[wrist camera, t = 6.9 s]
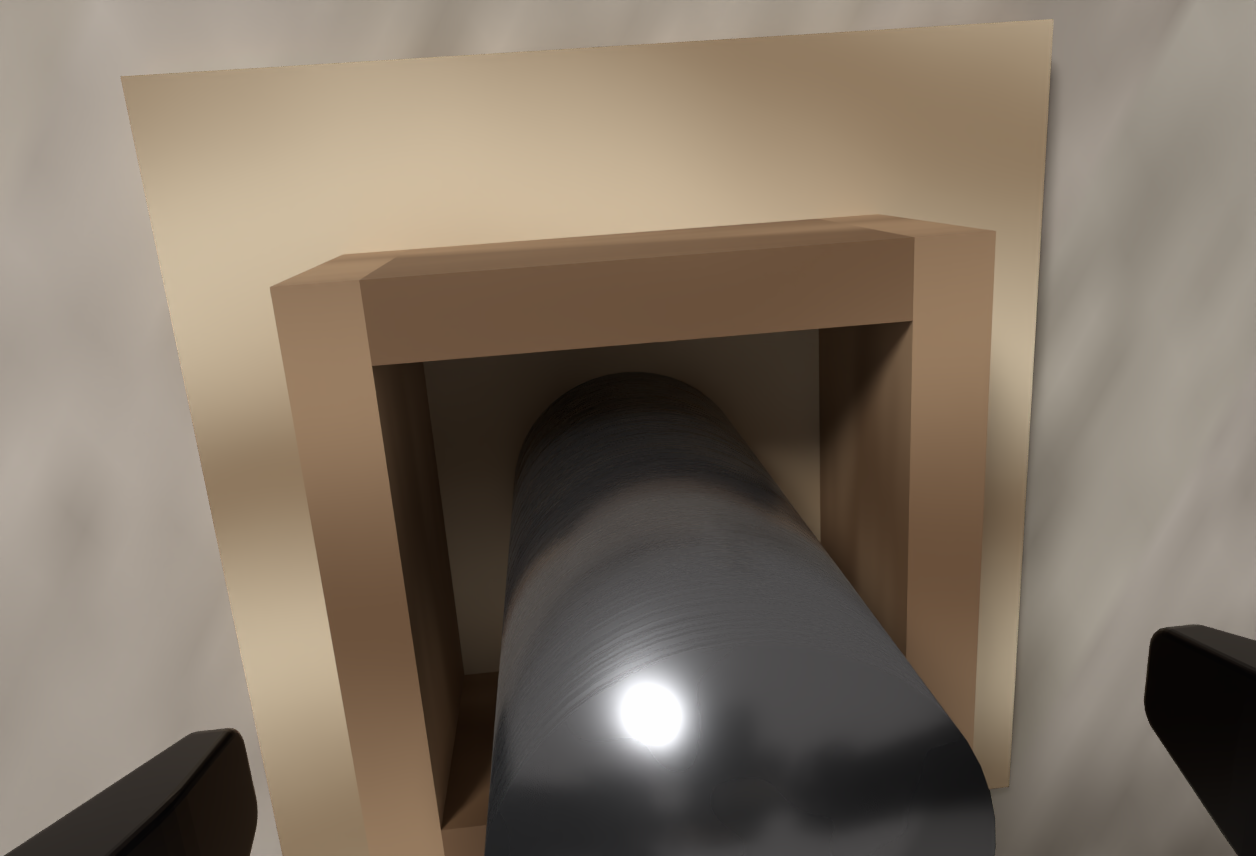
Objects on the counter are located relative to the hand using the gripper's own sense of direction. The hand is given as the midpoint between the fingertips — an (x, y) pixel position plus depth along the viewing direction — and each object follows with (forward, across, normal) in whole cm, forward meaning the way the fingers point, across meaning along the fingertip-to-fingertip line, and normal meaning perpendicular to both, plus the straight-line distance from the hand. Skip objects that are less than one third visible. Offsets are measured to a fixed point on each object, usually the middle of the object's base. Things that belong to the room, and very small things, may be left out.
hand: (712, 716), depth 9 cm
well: (+8, 0, 0) cm, 8 cm away
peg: (+7, 0, 0) cm, 7 cm away
